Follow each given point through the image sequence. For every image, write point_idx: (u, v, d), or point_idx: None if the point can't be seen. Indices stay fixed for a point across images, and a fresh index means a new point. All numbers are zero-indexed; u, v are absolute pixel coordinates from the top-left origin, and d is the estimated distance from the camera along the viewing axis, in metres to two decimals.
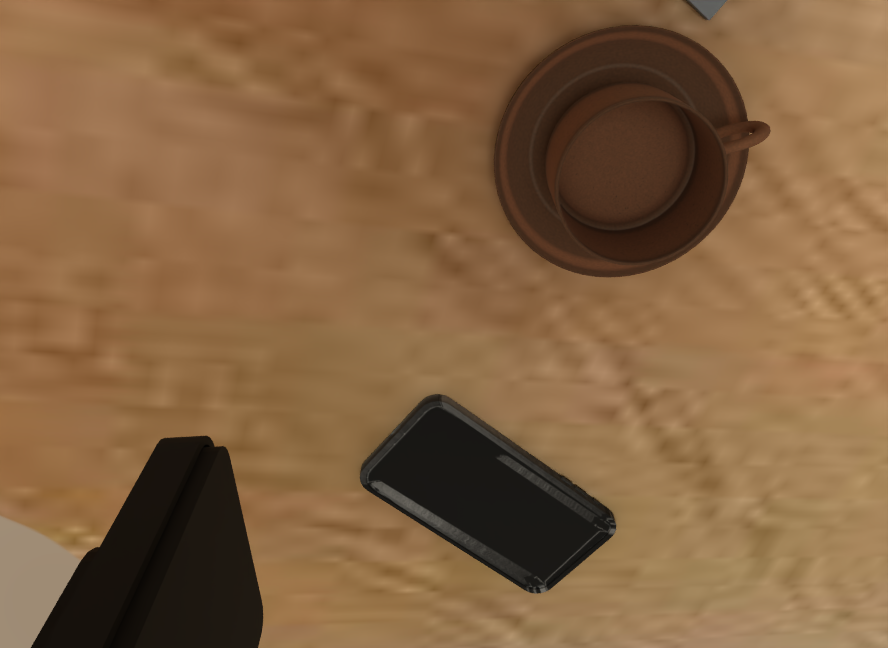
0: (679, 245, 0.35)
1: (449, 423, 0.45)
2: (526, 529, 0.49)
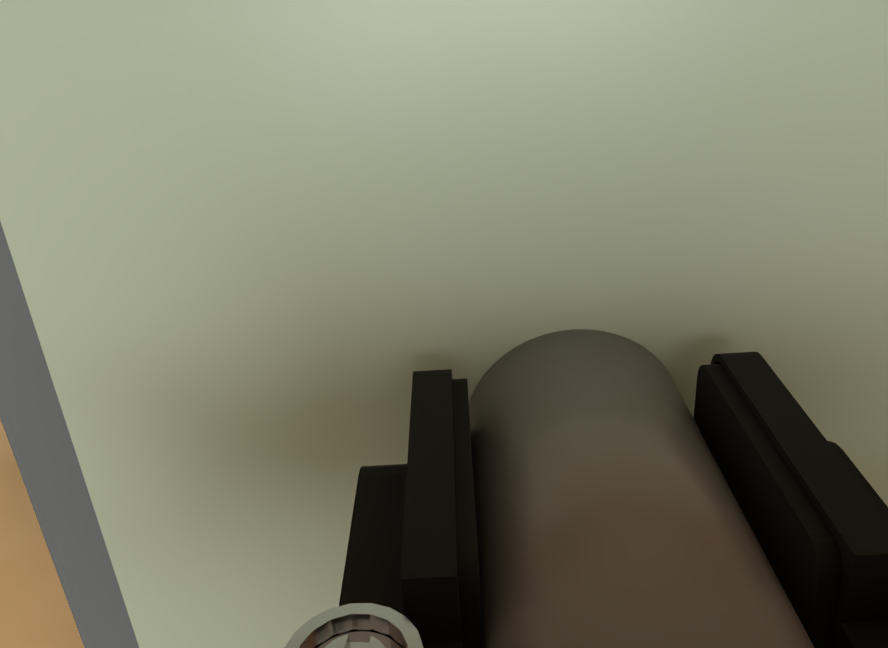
0: None
1: None
2: None
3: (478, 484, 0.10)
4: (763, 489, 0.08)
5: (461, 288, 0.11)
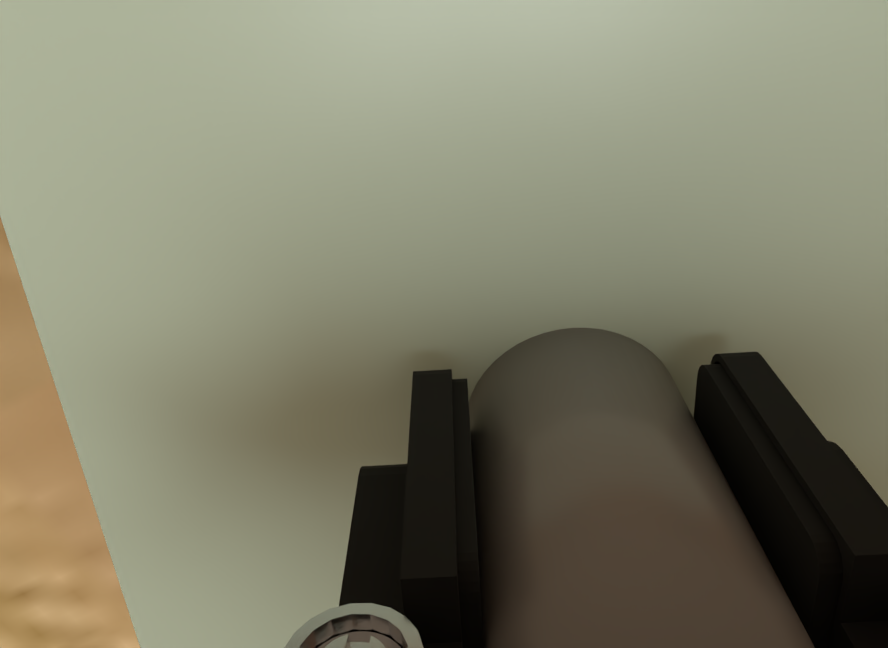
0: None
1: None
2: None
3: (478, 482, 0.10)
4: (763, 489, 0.08)
5: (461, 287, 0.11)
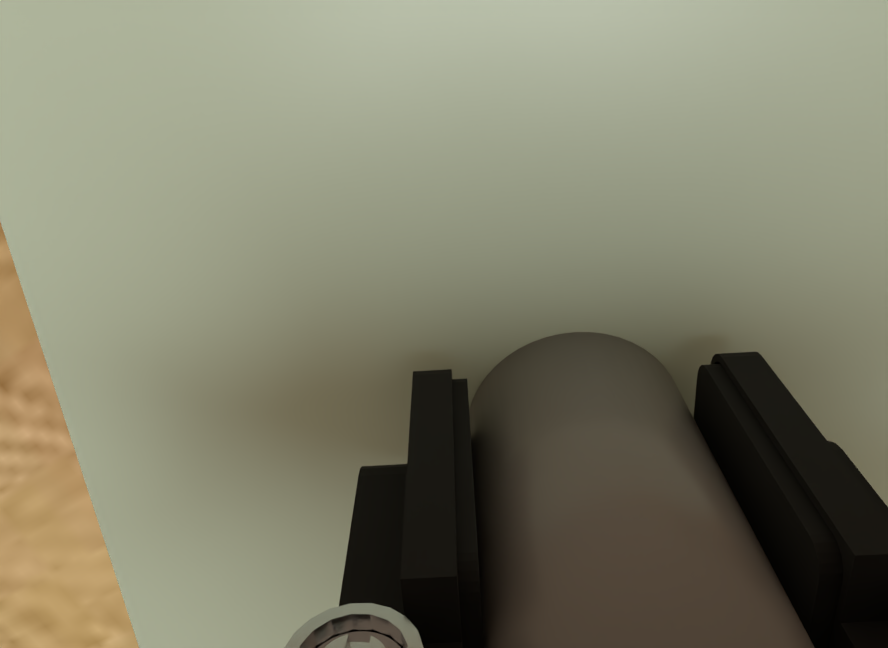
0: None
1: None
2: None
3: (480, 487, 0.10)
4: (763, 489, 0.08)
5: (462, 291, 0.11)
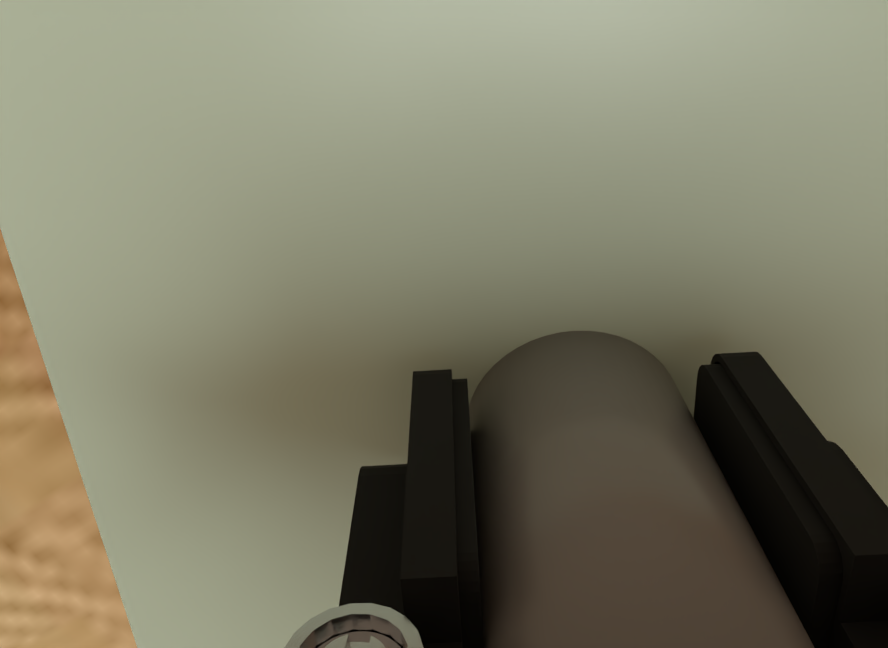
0: None
1: None
2: None
3: (478, 486, 0.10)
4: (763, 489, 0.08)
5: (460, 290, 0.11)
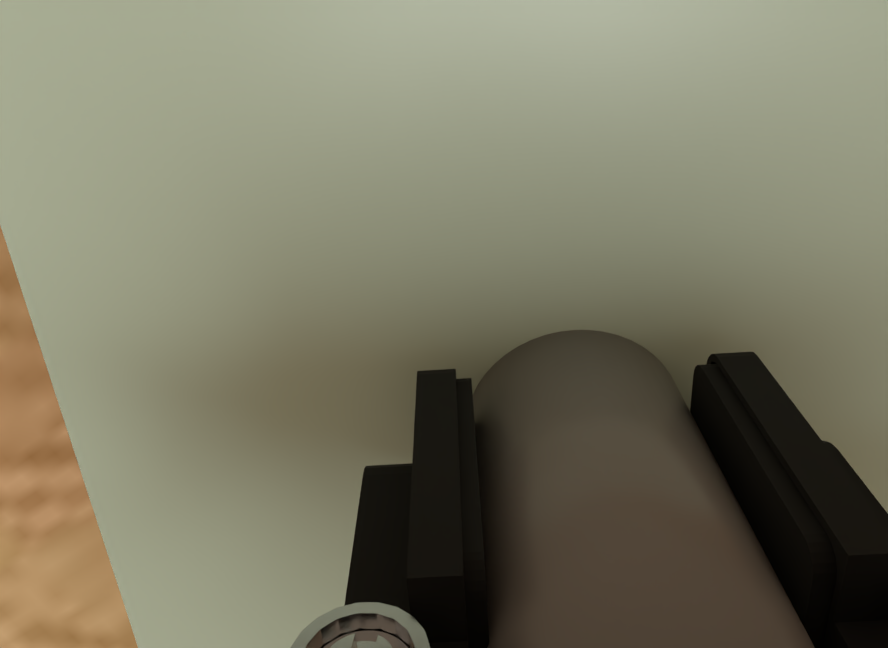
0: None
1: None
2: None
3: None
4: (758, 489, 0.08)
5: (461, 288, 0.11)
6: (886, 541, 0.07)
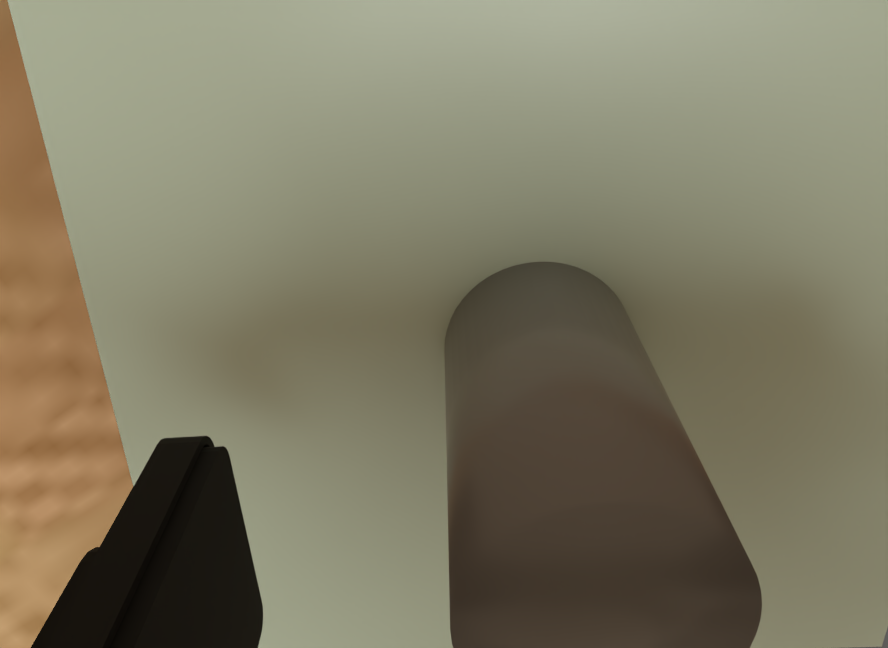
0: None
1: None
2: None
3: (453, 382, 0.11)
4: None
5: (444, 222, 0.12)
6: None
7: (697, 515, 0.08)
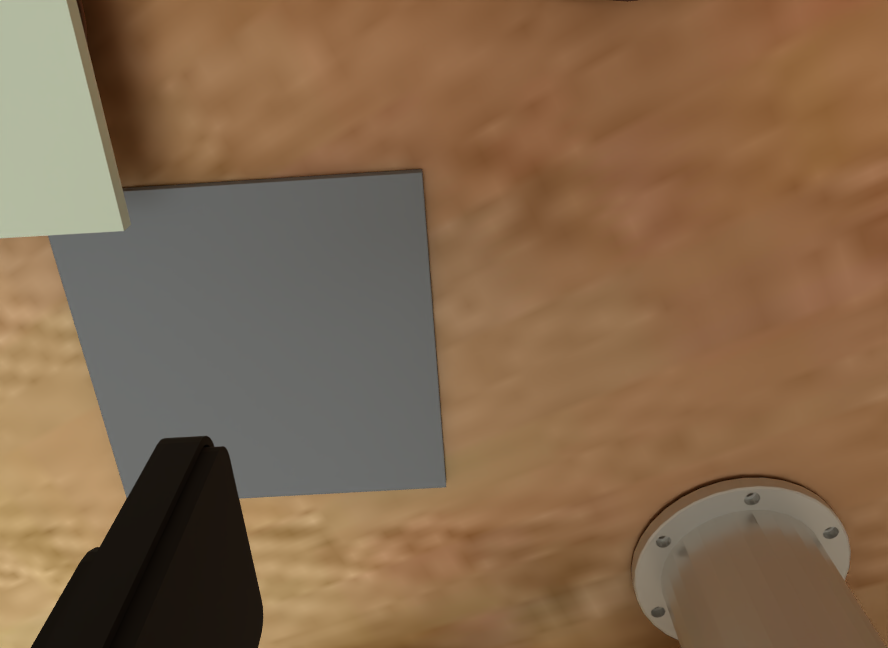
0: None
1: None
2: None
3: None
4: None
5: None
6: None
7: None
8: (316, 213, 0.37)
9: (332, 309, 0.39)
